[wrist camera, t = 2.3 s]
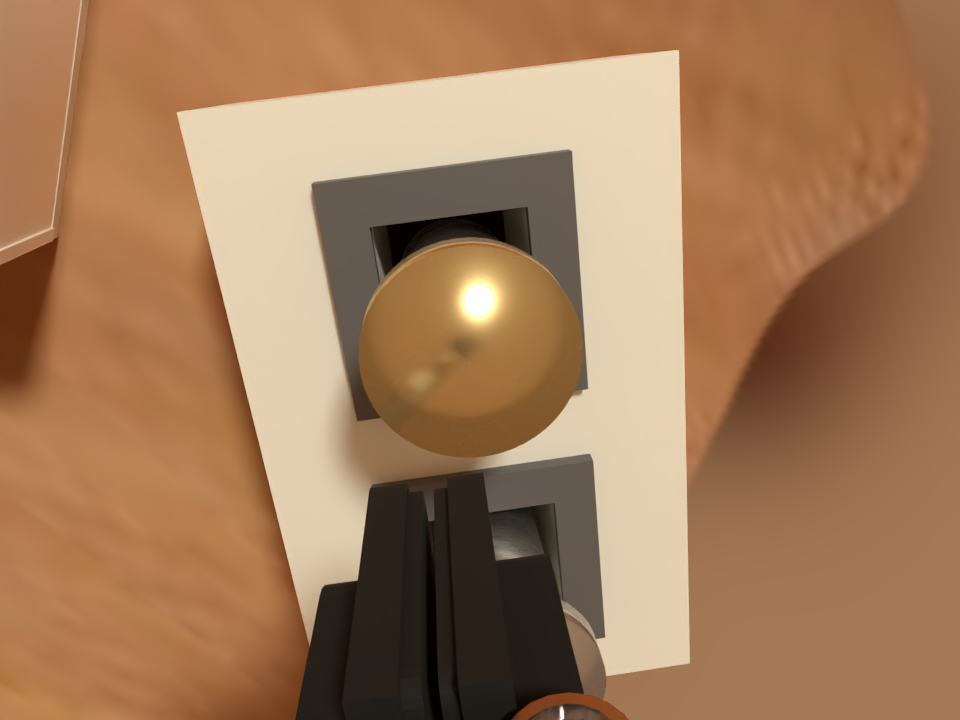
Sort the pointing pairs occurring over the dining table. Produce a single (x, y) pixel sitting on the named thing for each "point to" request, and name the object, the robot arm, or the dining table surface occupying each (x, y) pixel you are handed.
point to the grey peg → (522, 539)
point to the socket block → (528, 226)
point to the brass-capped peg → (469, 343)
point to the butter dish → (36, 116)
